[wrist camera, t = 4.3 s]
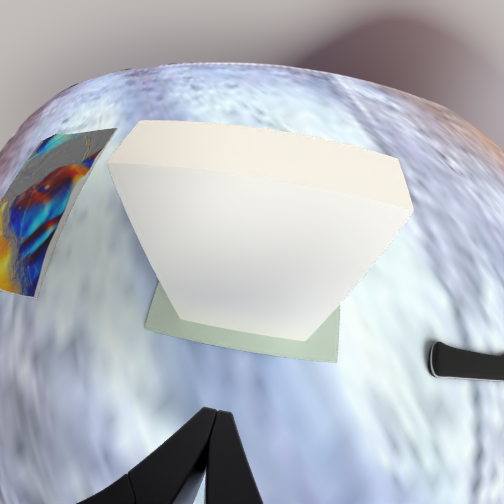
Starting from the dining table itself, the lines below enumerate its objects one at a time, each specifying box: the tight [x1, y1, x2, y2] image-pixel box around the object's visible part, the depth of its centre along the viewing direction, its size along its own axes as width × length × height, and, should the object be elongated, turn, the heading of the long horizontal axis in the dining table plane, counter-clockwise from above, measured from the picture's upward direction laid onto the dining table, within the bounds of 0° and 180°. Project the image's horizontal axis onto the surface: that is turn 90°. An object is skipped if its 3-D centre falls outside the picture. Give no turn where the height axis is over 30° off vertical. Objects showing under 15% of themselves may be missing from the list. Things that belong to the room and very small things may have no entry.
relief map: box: [0, 128, 117, 299], centre depth 25 cm, size 25×15×2 cm, turn 179°
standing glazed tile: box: [106, 120, 414, 341], centre depth 13 cm, size 3×9×14 cm, turn 81°
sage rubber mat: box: [144, 281, 340, 363], centre depth 23 cm, size 20×14×1 cm
